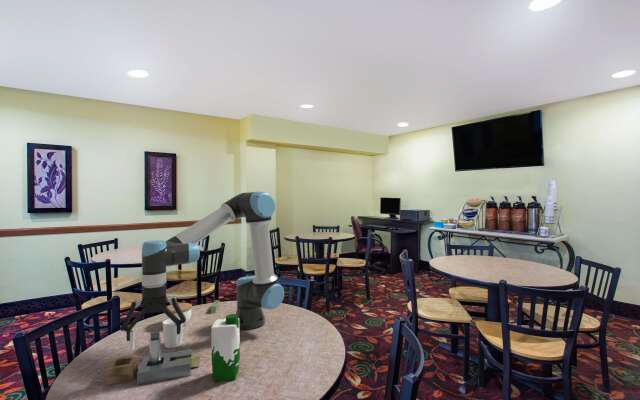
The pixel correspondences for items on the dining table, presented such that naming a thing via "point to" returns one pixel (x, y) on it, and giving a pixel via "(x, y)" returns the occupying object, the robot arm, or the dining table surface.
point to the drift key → (194, 360)
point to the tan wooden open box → (121, 370)
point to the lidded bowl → (185, 309)
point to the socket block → (165, 367)
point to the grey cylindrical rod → (155, 348)
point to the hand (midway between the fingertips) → (154, 346)
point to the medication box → (215, 306)
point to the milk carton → (225, 348)
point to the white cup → (171, 334)
